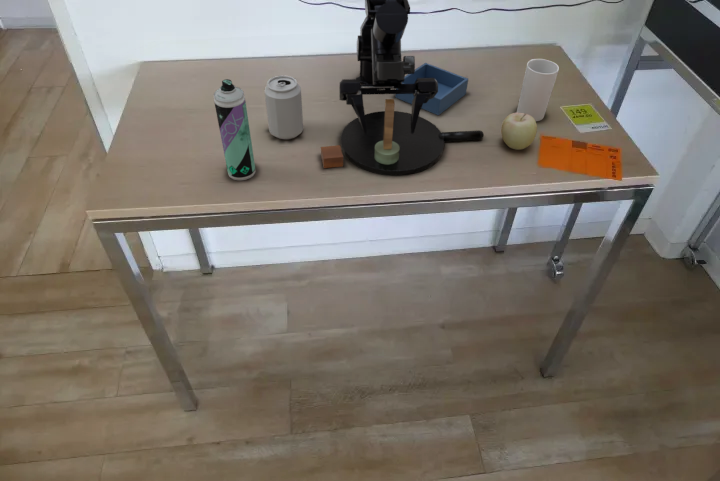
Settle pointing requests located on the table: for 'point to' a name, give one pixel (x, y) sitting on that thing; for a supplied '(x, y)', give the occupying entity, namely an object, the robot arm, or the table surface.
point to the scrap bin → (448, 88)
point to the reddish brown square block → (332, 156)
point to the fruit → (518, 130)
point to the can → (284, 107)
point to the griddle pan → (414, 148)
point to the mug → (537, 87)
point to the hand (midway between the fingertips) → (389, 133)
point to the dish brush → (387, 138)
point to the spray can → (234, 130)
